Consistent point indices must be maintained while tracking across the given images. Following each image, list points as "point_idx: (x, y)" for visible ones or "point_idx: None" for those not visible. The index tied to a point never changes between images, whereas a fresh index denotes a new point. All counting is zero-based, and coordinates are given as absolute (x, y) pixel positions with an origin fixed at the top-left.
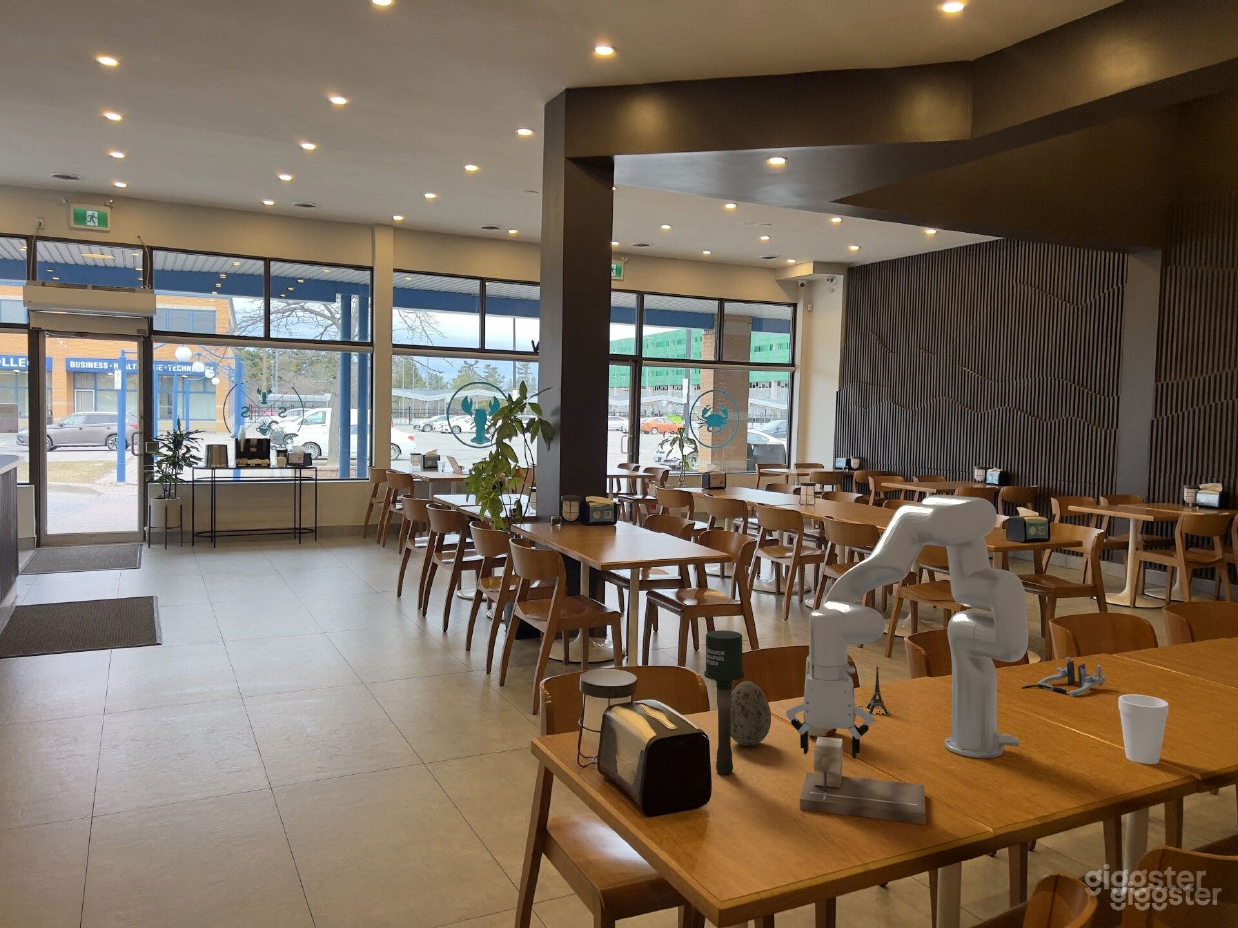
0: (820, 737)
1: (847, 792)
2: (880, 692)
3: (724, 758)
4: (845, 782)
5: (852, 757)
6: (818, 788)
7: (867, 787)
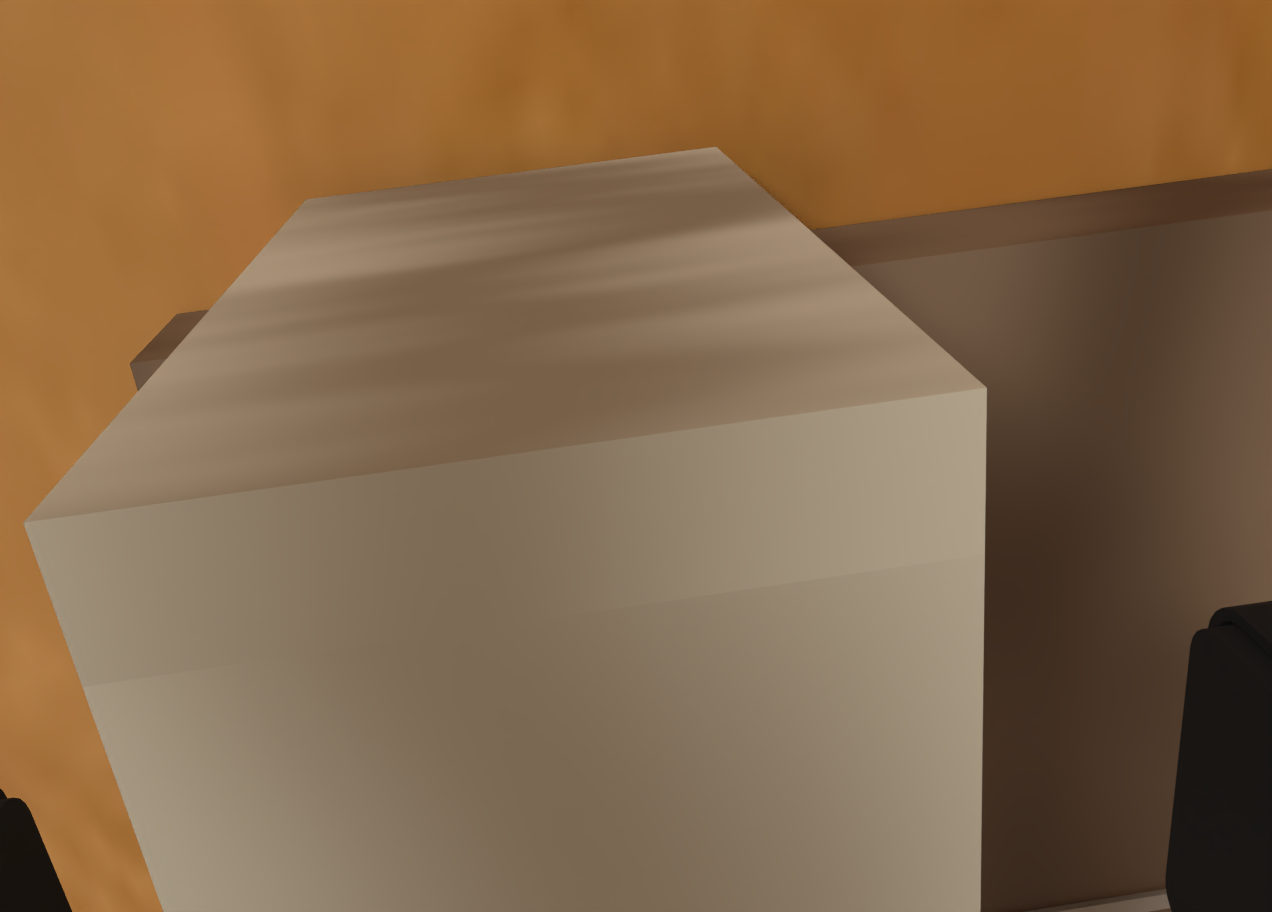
0: (165, 571)
1: None
2: None
3: None
4: None
5: (1170, 899)
6: None
7: (1158, 561)
